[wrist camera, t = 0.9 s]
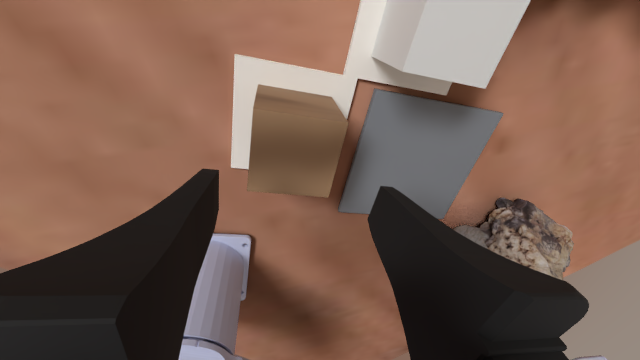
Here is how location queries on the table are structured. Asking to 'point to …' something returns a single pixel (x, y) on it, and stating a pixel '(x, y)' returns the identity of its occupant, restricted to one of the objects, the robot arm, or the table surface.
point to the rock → (524, 237)
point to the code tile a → (279, 76)
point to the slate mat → (416, 151)
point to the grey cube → (447, 37)
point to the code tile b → (374, 69)
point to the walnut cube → (294, 142)
